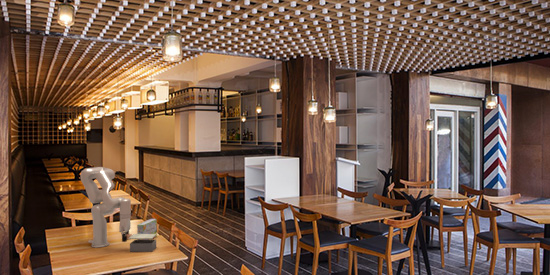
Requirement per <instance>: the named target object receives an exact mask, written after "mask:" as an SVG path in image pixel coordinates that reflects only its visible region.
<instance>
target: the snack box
mask: <svg viewBox="0 0 550 275" xmlns="http://www.w3.org/2000/svg"><path fill="white" fill-rule="evenodd" d="M157 221H158V220H157V218H150V219H147V220H145V221H143V222H140V223H138V224H137V227H136V228H137V229H136V232H137V233H136V234H156V236H155V237H154V238H153V239H136V240H155V238H157V236H158V235H157V234H158V233H157V231H158V230H157V228H158V227H157V224H158V223H157Z"/></svg>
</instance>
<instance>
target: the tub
mask: <svg viewBox="0 0 550 275" xmlns="http://www.w3.org/2000/svg"><path fill="white" fill-rule="evenodd" d="M156 249H157V239H152V240H137V239H133V240H132V242H130V243H129V253H152V252H154V251H155V250H156Z"/></svg>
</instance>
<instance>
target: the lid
mask: <svg viewBox="0 0 550 275" xmlns="http://www.w3.org/2000/svg"><path fill="white" fill-rule="evenodd" d="M126 236H127V241H130V240H137V239H152V240H154V239H155V238H154V237H155V236H156V234H137V233H129V234H126ZM153 238H154V239H153Z"/></svg>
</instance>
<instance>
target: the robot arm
mask: <svg viewBox="0 0 550 275" xmlns="http://www.w3.org/2000/svg"><path fill="white" fill-rule="evenodd" d="M115 177H116V173H115V171H114V170H113V169H111V168H108V167H104V166H94V167H87V168H83V170H81V173H80V181H81V183H82V185H83V187H84V189H85V192H86V194H87V197H88V200H89V202H90V203H91V204H95V205H93V206H92V207H91V211H90V213H91V216H92V232H93V234H92V236H93V239H88V243H89V244H91V247H92V248H104V247H107V246H110V241H108V224H107V223H108V222H107V219H106V217H105V216H108V215H111V214H113V213H114V212H115V210H116V209H119V228H118V230H119V233H120V234H121V242H122V243H126V242H127V241H128V240H127V236H126V234H130V230H131V217H132V212H131V211H132V208H131V207H132V206H131V205H132V204H131V198H125V197H122V196H119V197H115V198H113V197H112V195H111V193H110V192H111V190H113V188H115V184H114V182H113V179H115ZM93 179H96V180H97V182H98V184H99V186H100V188H102V189H99V187H98V184H97V183H96V182H95V180H93Z"/></svg>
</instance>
